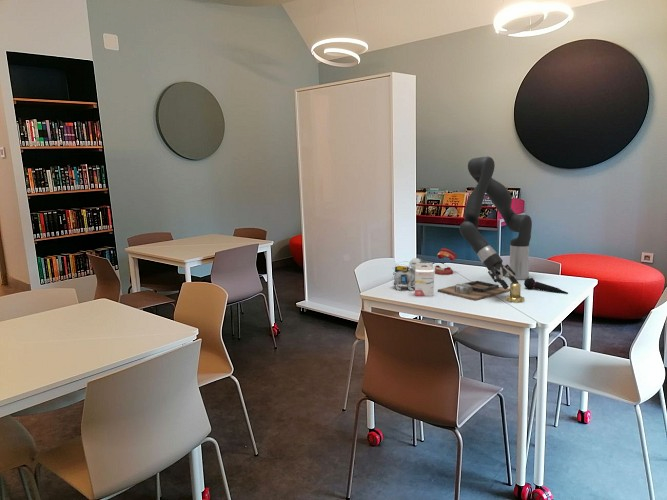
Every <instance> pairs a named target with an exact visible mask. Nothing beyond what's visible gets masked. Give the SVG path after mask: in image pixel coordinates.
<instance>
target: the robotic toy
mask: <svg viewBox="0 0 667 500" xmlns="http://www.w3.org/2000/svg"><path fill="white" fill-rule="evenodd" d="M405 262H406V263H408V262H409V264H408V265H403V264H400V263H397V265H395V267H392V269H393V270H394V272H393V273H392V275H393V276H392V278H391V279H393V280H394V281H393V285H394V287H395V289H396V291H402V288H401V287H403V286H407V288H408V290H409V291H410V292H413V291H414V288H412V287H413V286H414V287H415V269H416V263H427V260H423V259H421V258H418V257H415V258H412V259H411V260H410V261H406V260H405V261H404V260H403V261H402V263H405ZM421 267H427V266H425V265H423V266H421ZM399 286H401V287H399Z"/></svg>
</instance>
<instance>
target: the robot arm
mask: <svg viewBox="0 0 667 500" xmlns="http://www.w3.org/2000/svg"><path fill="white" fill-rule="evenodd" d="M495 165H496V164H495V161H494V158H492V157H491V156H481V157H474V158H471V159H470V160H468V162H467V170H468V172H469V175H470V176H471V177H472V178H473V179H474V180H475V182H476V186H475V188H473V190H472V192H471V193H470V194H469V196H468V198H467V200H466V202H465V203H466V204H465V208H464V214H463V215H464V221H462V222H461V224H459V233H460V235H461V236H462V237H463V238H464V239H465V240H466V242H468V243H469V245H470V247H471V248H472V250H473V251H474V252H475V254H476V255H477V256H478V259H479V260H480V261H481V263H482V264H483V265H484V267H486V269H487V270H488V271H487V273H488V275H489V276H490V278H491V279H492V280H493V282H494V283H498V284H500V287H503V288H504V289H507V288H508V289H509V288H510V285H508V283H507V282H506V281H505V279H504V278H507V279H509V281H510V283H520V282H519V280H526V279H528V278H529V277H530V259H529V258H530V241H531V239H532V238H531V236H532V228H533V222H532V217H531V216H530V215H528V214H521V213H520V214H517V213H515V211H514V210H513V209H512V202H513V198H512V195H511V192H510V191H509V190H508V189H507V187H506V186H505V185H504V184H502V183H501V182H500V181H498V180H496V179H495V178H492V176H493V174H494V172H495ZM486 195H487V196H488V198H489V200H490V201H491V202H492V203H491V204H493V205H494V207H495V208H496V210H497V211H498V212H499V213H500V216H501V217H502V219H503V221H504V223H505V225H506V227H507V228H508V230H509V231H511V232H514V233H518V236H517V237H516V238H515V237H514V238H512V239H511V240H510V241H509V242H510V243H509V264H505V265H504V264H503V259H502V257H501V256H500V255H499V254H498V253H497V252H496V250H495V249H494V247H492V246H491V245H490V243H489V242H488V241H487V239H485V237H483V236H482V233H480V231H479V230H478V229H479V220H480V214H481V210H482V205H483V200H484V198H485V196H486Z"/></svg>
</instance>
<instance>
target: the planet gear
mask: <svg viewBox="0 0 667 500" xmlns="http://www.w3.org/2000/svg"><path fill="white" fill-rule="evenodd" d="M521 286H522V284H521V283H520V282H519V283H512V282H510V283H509V289H510V291H509V295H506V296H505V301H507V302H509V303H515V304H517V303H524V302H525V297H524V296H521V291H522V290H521Z"/></svg>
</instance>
